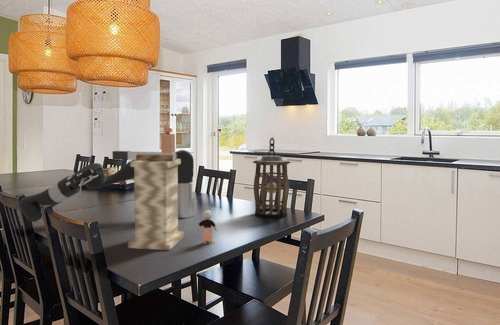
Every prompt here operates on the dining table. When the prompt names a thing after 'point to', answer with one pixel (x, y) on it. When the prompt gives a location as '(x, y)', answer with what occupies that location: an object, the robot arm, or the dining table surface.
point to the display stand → (156, 202)
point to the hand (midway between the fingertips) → (97, 169)
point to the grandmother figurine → (207, 228)
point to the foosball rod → (166, 149)
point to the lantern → (271, 186)
